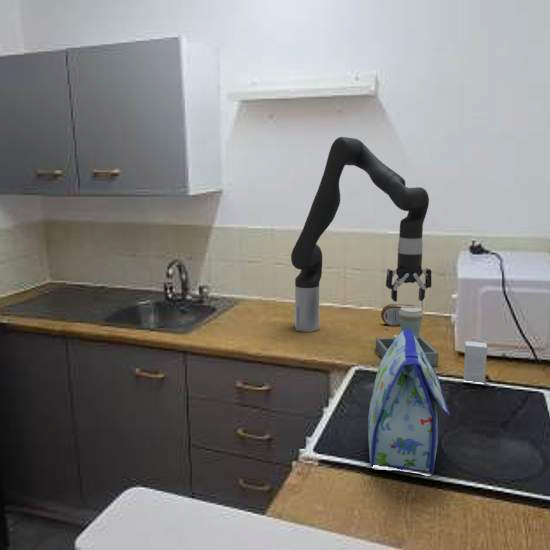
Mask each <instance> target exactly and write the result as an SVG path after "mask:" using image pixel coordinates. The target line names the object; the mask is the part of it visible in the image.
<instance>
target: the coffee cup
mask: <svg viewBox="0 0 550 550" xmlns="http://www.w3.org/2000/svg"><path fill="white" fill-rule="evenodd" d="M399 314H400V324H401V326H400V332H401V331H402V330H405V329H409V330H410V331H411V332H412V333H414V334H415V337H420V333H421V329H422V328H421V326H422V323H423V322H422V321H423V316H424V312H423V309H422V308H421V307H420V306H415V305H414V306H404V307H401V309H400V311H399Z"/></svg>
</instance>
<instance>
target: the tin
mask: <svg viewBox="0 0 550 550" xmlns="http://www.w3.org/2000/svg"><path fill="white" fill-rule="evenodd" d="M404 306H415V305H413V304H405V303H404V304H402V303H399V304H398V303H396V304H394V303H390V304H387V305H385V306H384V307H383V308H382V309H381V313H380V317H381V319H382V321H383V323H384V324H385V325H388V326H392V327H394V326H395V327H401V324H400V314H399V311H400V309H401V307H404Z"/></svg>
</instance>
